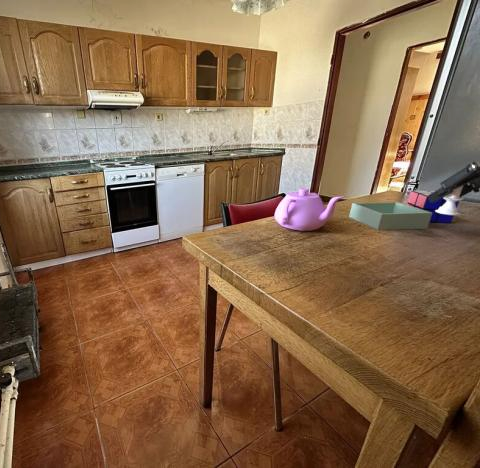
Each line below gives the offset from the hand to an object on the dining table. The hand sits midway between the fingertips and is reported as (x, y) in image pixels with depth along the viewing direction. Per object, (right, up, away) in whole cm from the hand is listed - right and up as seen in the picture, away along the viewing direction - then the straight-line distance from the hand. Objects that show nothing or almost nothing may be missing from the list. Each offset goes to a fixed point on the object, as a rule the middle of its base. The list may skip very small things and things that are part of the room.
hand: (438, 199), depth 82 cm
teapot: (-37, -9, +12) cm, 40 cm away
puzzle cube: (+13, -5, +17) cm, 22 cm away
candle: (0, -5, -2) cm, 5 cm away
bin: (-5, -7, +15) cm, 17 cm away
